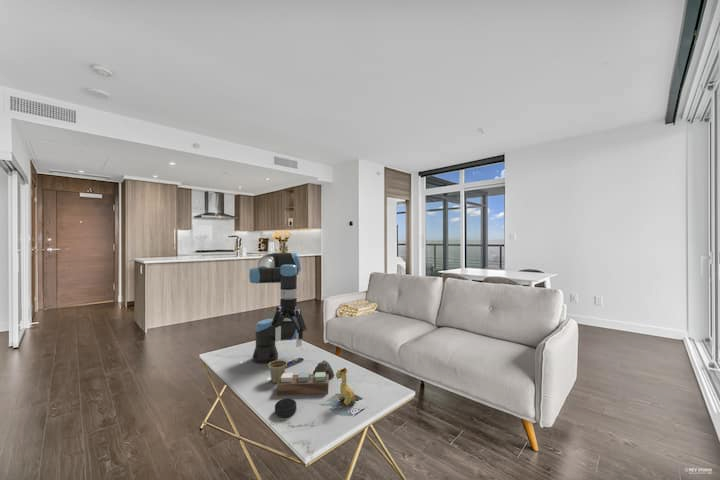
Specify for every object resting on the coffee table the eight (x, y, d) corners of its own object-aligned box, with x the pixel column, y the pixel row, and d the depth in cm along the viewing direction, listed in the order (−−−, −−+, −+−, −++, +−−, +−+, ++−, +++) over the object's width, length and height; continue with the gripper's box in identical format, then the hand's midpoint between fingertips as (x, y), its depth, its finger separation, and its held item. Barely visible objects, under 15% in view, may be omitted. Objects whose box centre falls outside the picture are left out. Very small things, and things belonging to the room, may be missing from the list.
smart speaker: (278, 406, 135) (278, 397, 135) (298, 406, 135) (298, 397, 135) (272, 418, 126) (272, 408, 126) (293, 418, 126) (293, 408, 126)
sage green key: (315, 377, 153) (315, 372, 153) (325, 377, 154) (325, 372, 154) (314, 382, 148) (314, 376, 148) (325, 381, 149) (325, 376, 149)
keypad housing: (280, 385, 155) (280, 375, 155) (328, 383, 156) (328, 373, 156) (276, 395, 145) (276, 384, 145) (328, 393, 146) (328, 383, 146)
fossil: (307, 375, 164) (314, 356, 168) (319, 379, 170) (325, 360, 174) (321, 381, 157) (327, 361, 160) (333, 384, 163) (339, 365, 166)
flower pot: (282, 385, 154) (282, 368, 154) (264, 383, 156) (264, 366, 156) (289, 377, 164) (290, 361, 164) (273, 375, 165) (273, 359, 165)
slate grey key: (299, 377, 153) (299, 372, 153) (309, 377, 153) (309, 372, 153) (297, 382, 148) (297, 377, 148) (308, 382, 148) (308, 377, 148)
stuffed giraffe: (343, 390, 149) (343, 358, 149) (372, 404, 138) (373, 370, 137) (318, 405, 137) (318, 370, 136) (349, 422, 126) (349, 384, 125)
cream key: (282, 378, 152) (282, 373, 152) (293, 378, 153) (293, 373, 153) (281, 383, 147) (281, 377, 147) (291, 382, 148) (291, 377, 148)
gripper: (264, 296, 148) (263, 340, 148) (302, 302, 134) (302, 350, 134) (276, 294, 154) (275, 336, 154) (314, 299, 141) (314, 345, 140)
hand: (288, 343), depth 144 cm, fingers open, 13 cm apart
